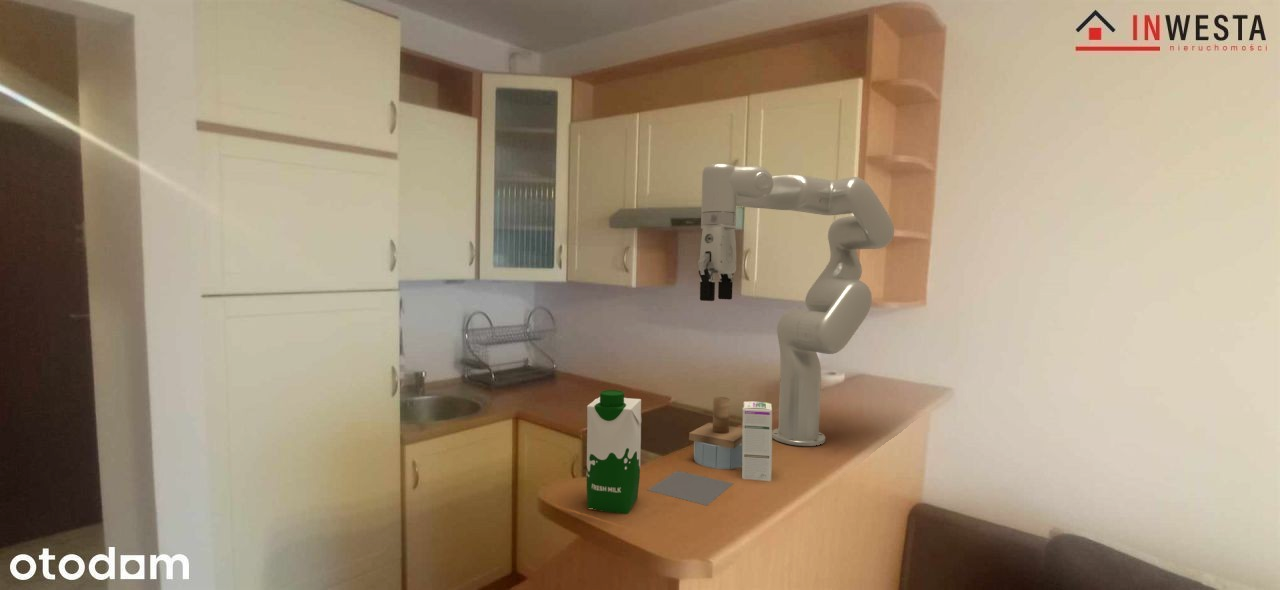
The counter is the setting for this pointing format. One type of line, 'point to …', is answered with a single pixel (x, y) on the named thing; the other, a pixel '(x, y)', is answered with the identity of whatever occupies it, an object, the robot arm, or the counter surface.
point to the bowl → (717, 456)
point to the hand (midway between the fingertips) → (716, 299)
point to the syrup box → (757, 441)
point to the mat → (691, 487)
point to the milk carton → (613, 452)
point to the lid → (718, 427)
